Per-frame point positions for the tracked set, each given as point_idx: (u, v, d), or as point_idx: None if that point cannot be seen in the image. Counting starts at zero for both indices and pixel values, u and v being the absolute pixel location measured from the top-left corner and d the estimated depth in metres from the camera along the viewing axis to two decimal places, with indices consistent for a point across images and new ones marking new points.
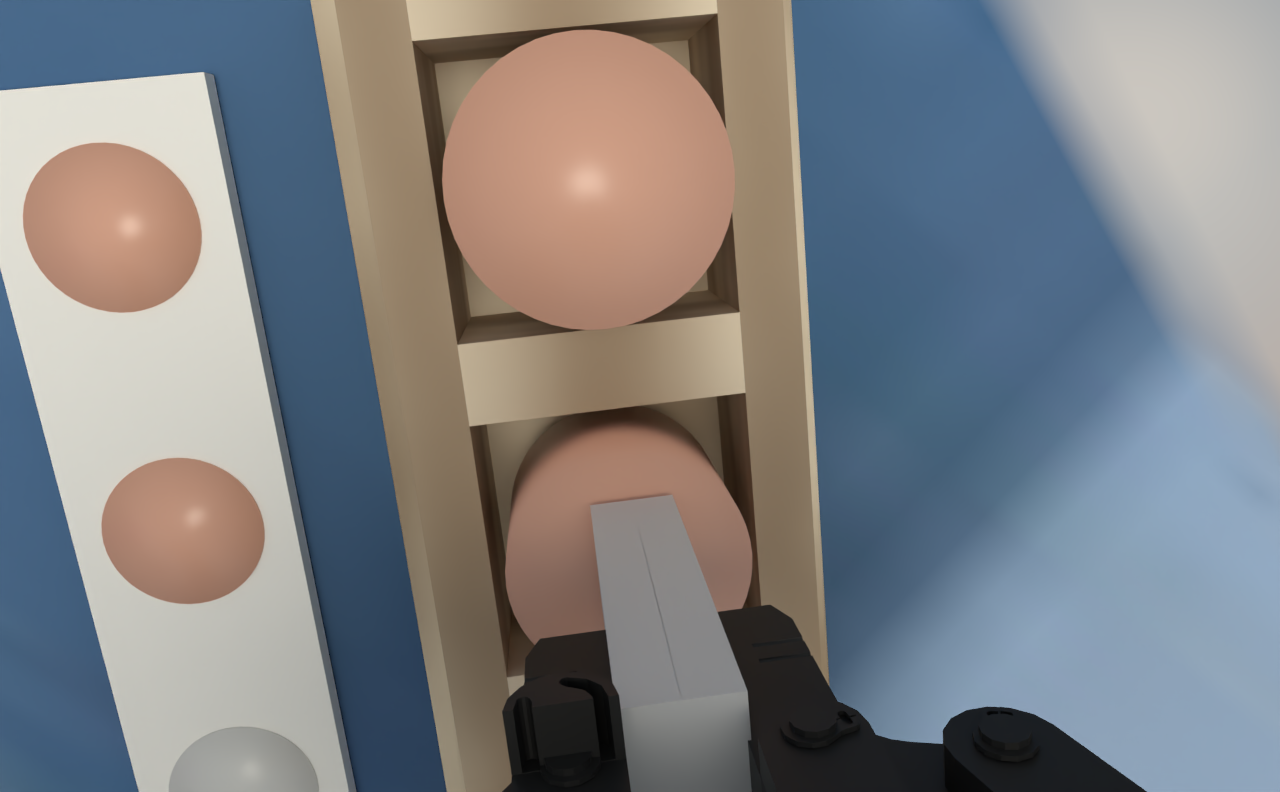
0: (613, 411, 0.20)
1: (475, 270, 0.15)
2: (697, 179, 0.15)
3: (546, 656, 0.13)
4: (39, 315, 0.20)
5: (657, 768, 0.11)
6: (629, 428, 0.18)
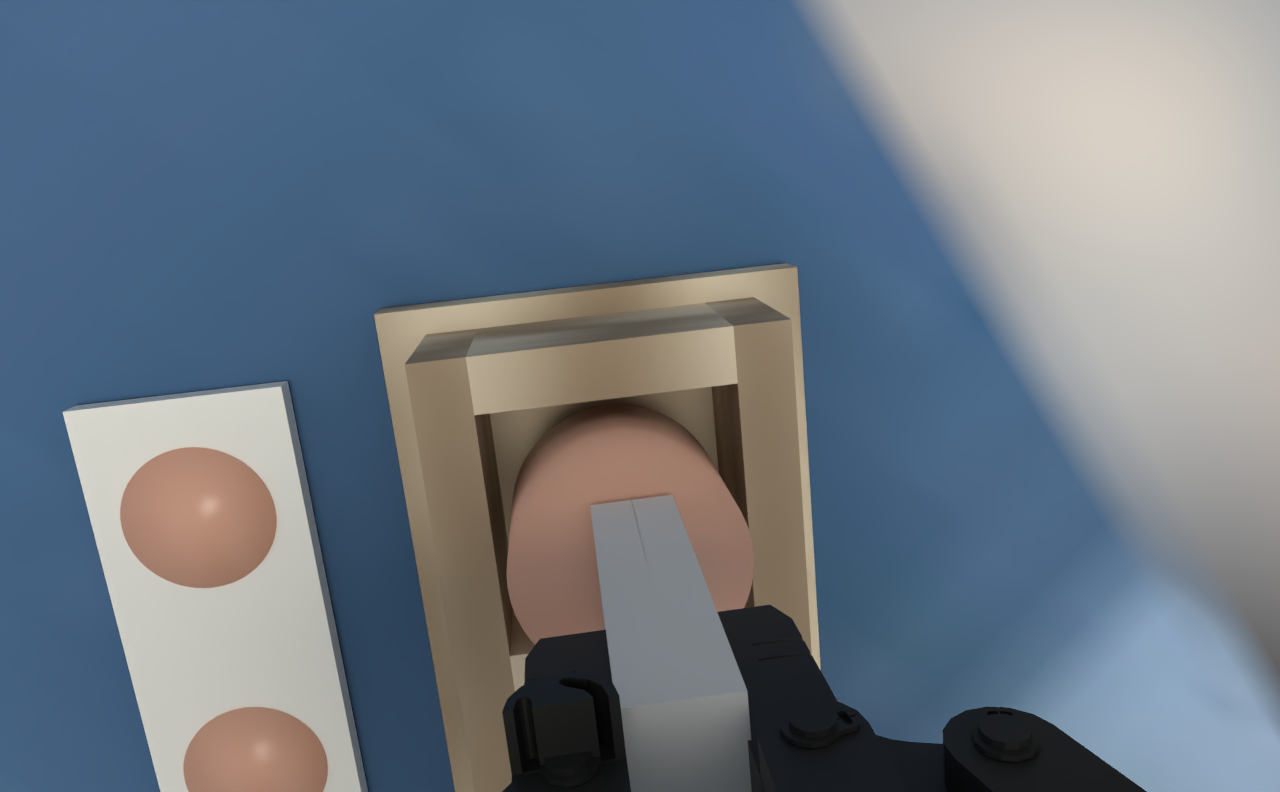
0: None
1: (533, 640, 0.17)
2: (723, 562, 0.17)
3: (547, 656, 0.13)
4: (132, 591, 0.23)
5: (657, 767, 0.11)
6: None
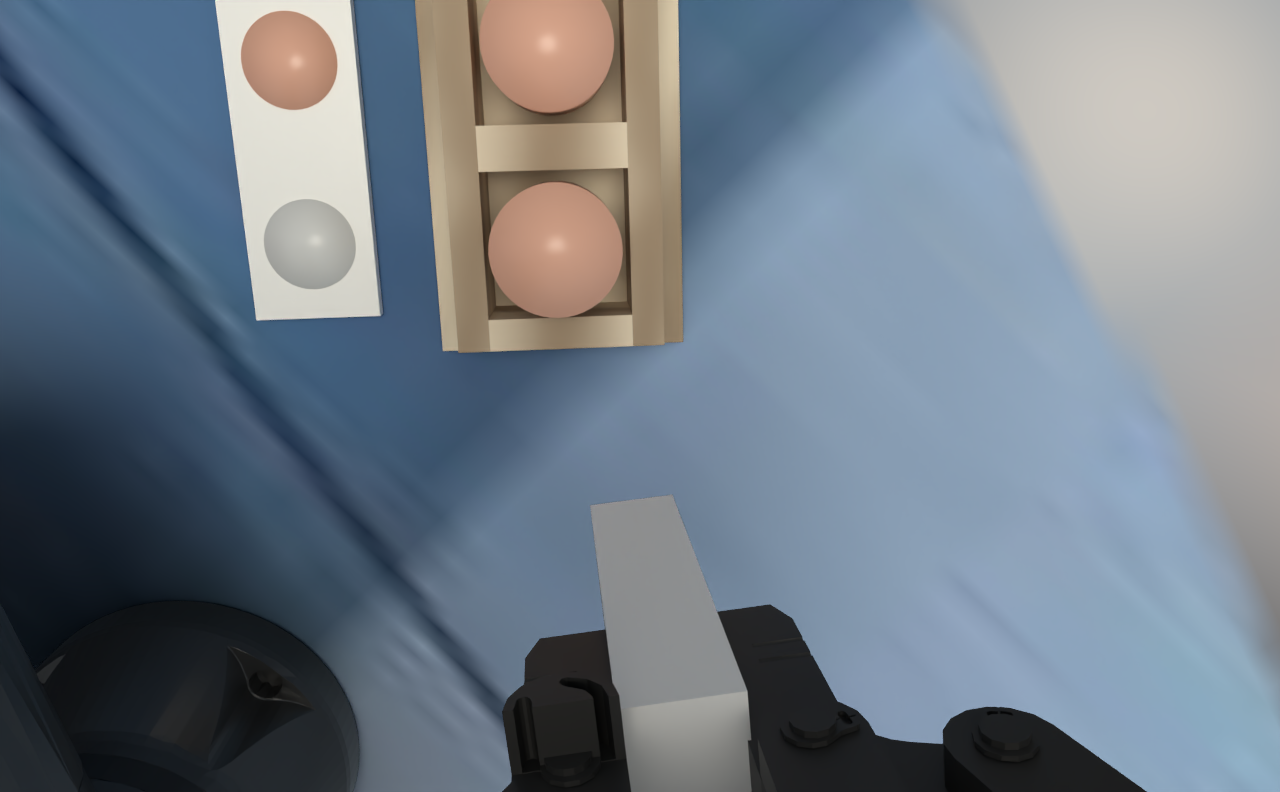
0: None
1: None
2: None
3: (547, 656, 0.13)
4: None
5: (657, 767, 0.11)
6: None
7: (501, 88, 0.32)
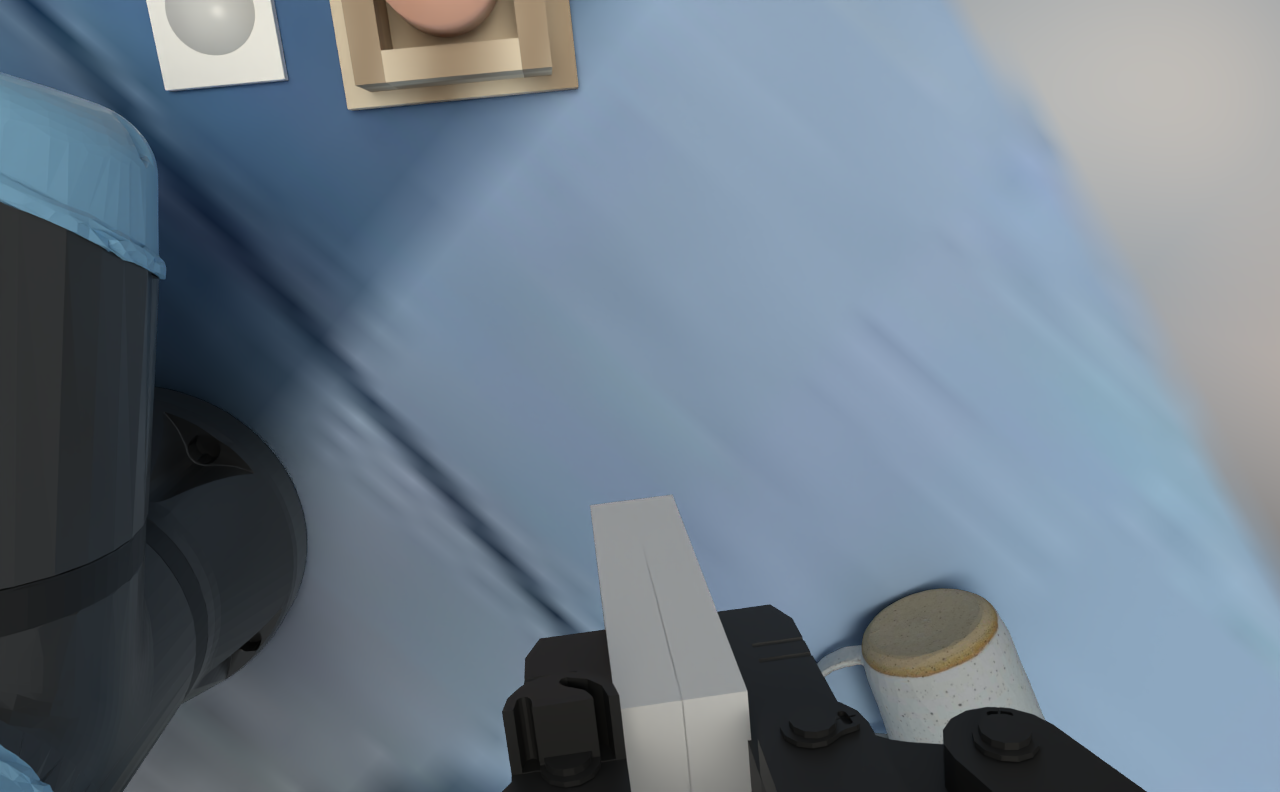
0: None
1: None
2: None
3: (547, 656, 0.13)
4: None
5: (658, 767, 0.11)
6: None
7: None
